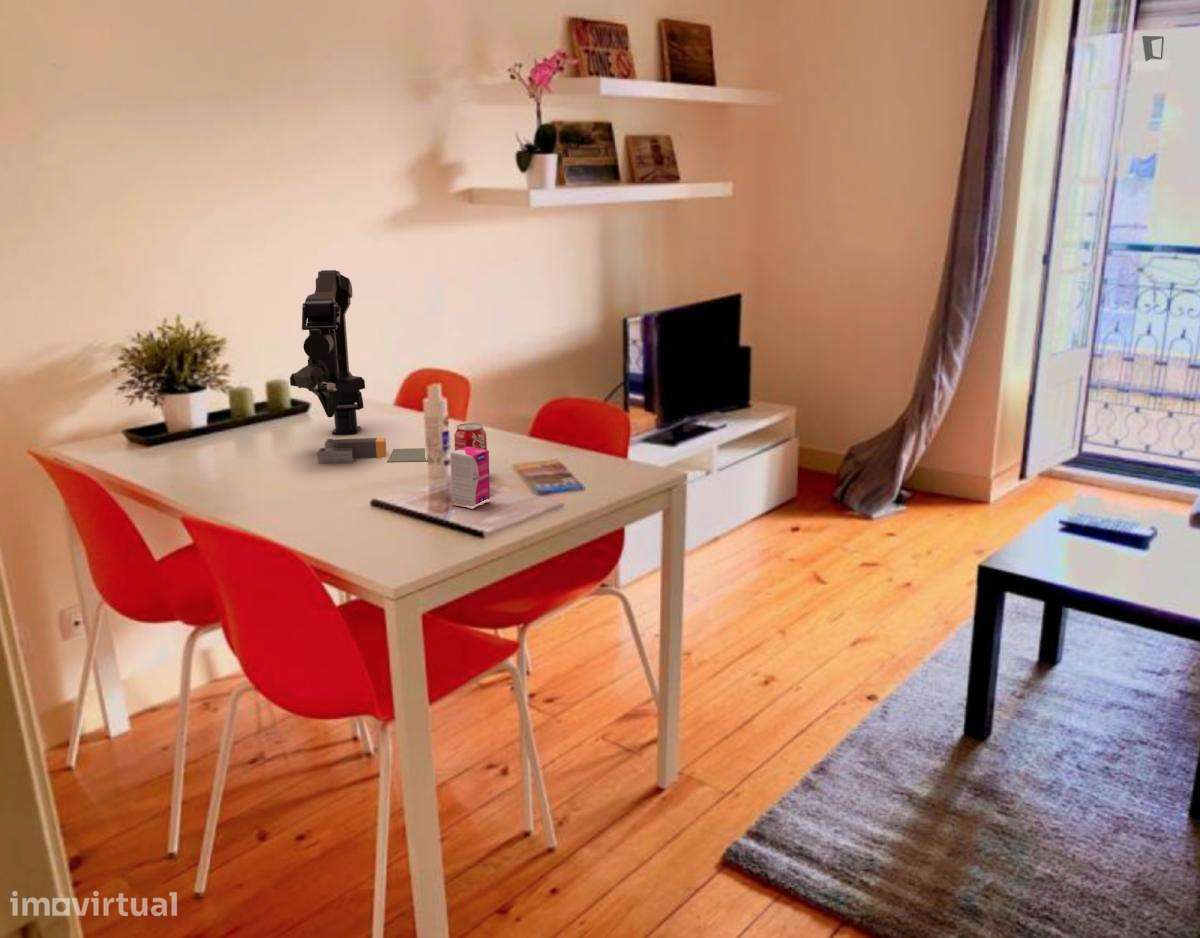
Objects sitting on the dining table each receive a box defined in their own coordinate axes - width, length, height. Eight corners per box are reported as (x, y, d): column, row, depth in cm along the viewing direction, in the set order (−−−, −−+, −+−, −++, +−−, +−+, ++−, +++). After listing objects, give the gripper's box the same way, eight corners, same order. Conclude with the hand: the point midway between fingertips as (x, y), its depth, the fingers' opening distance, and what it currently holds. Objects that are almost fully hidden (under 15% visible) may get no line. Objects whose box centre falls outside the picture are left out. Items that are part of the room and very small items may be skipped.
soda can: (491, 473, 219) (488, 422, 215) (484, 483, 212) (482, 430, 209) (460, 472, 220) (457, 421, 216) (452, 482, 213) (450, 429, 209)
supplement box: (473, 510, 195) (471, 456, 192) (451, 505, 198) (448, 452, 195) (491, 502, 200) (489, 449, 196) (469, 497, 203) (466, 445, 199)
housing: (327, 451, 238) (326, 438, 237) (360, 450, 238) (359, 437, 237) (318, 463, 227) (317, 450, 226) (352, 462, 228) (351, 449, 227)
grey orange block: (340, 455, 234) (339, 439, 233) (386, 453, 236) (385, 437, 235) (338, 459, 231) (337, 443, 230) (385, 457, 232) (383, 441, 231)
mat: (393, 449, 239) (393, 448, 238) (438, 448, 239) (438, 447, 239) (386, 462, 228) (386, 461, 228) (433, 461, 229) (433, 460, 229)
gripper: (269, 354, 222) (276, 419, 227) (330, 360, 214) (336, 429, 218) (304, 346, 232) (310, 410, 236) (364, 353, 223) (369, 418, 228)
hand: (330, 416), depth 229 cm, fingers closed
